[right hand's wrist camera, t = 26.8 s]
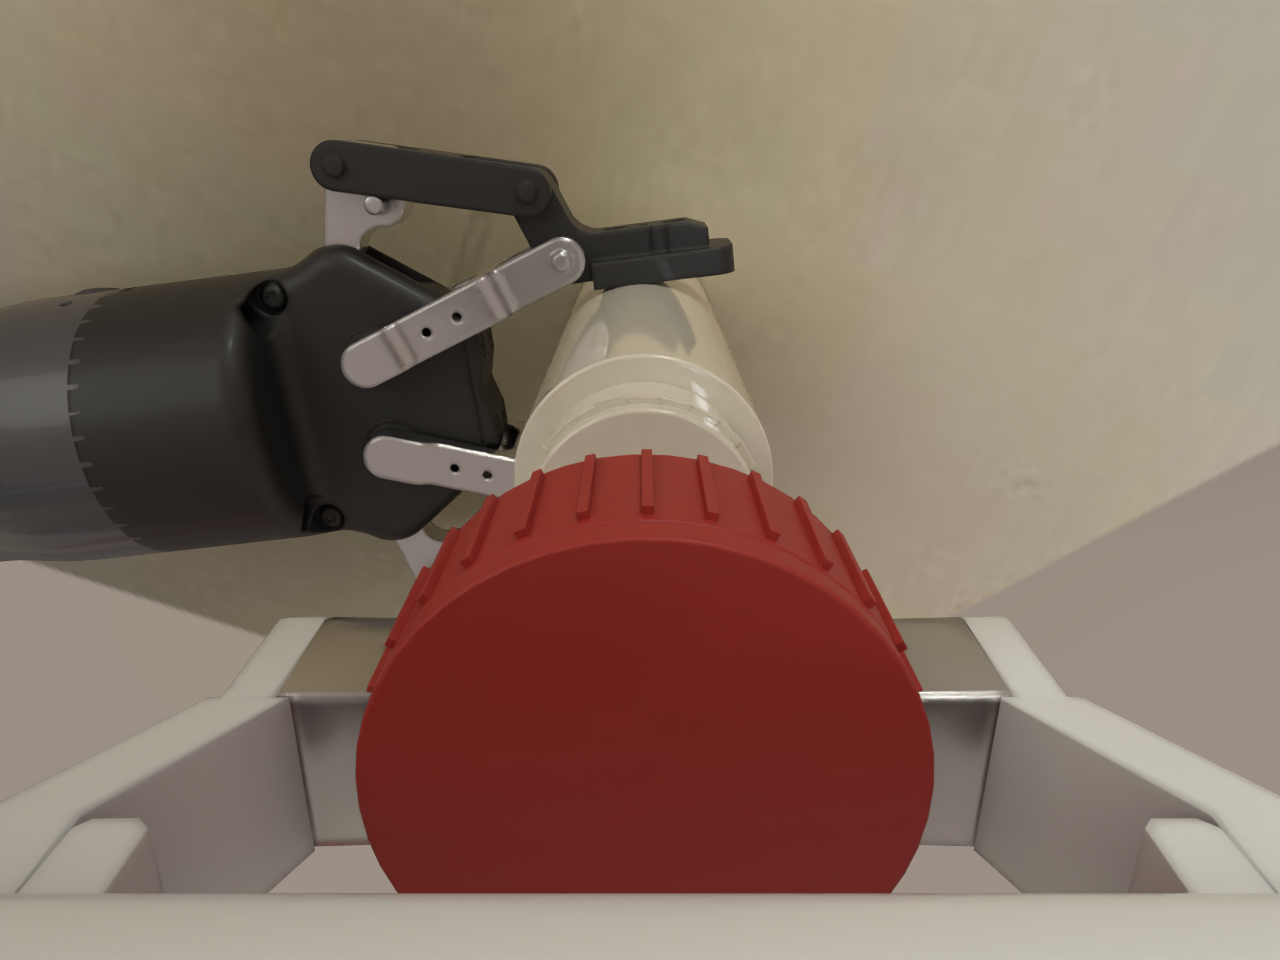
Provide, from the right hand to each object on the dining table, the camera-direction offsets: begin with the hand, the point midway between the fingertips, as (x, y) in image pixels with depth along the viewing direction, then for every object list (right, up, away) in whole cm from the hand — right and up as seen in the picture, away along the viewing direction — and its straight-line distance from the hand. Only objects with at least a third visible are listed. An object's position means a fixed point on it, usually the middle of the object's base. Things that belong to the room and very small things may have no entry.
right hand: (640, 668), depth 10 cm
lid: (0, -1, -2) cm, 2 cm away
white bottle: (0, +8, +21) cm, 23 cm away
